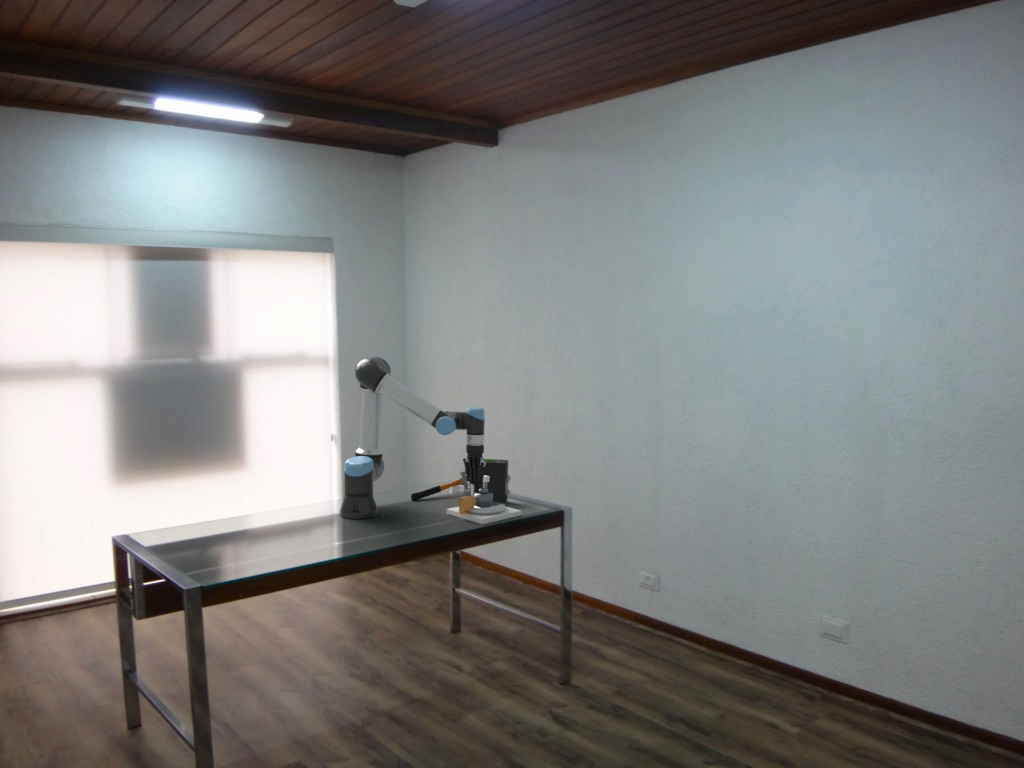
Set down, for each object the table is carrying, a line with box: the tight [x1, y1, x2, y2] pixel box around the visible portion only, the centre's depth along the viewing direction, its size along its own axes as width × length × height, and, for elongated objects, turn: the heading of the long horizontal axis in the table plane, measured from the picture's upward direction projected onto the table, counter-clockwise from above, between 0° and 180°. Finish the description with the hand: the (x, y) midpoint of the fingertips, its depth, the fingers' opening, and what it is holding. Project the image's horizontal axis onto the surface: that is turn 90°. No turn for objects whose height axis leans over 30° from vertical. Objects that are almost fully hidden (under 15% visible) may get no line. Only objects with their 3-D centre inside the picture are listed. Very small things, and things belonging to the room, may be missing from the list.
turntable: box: [458, 495, 506, 515], centre depth 338 cm, size 18×22×7 cm
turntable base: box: [446, 475, 522, 525], centre depth 339 cm, size 22×22×14 cm
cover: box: [474, 488, 493, 507], centre depth 339 cm, size 8×8×7 cm
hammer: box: [410, 469, 469, 502], centre depth 369 cm, size 11×4×30 cm
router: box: [468, 458, 512, 505], centre depth 360 cm, size 8×18×20 cm, turn 82°
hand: (474, 498), depth 344 cm, fingers closed
